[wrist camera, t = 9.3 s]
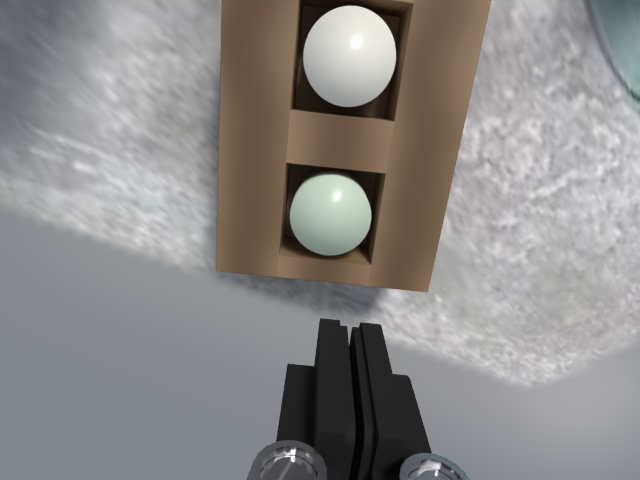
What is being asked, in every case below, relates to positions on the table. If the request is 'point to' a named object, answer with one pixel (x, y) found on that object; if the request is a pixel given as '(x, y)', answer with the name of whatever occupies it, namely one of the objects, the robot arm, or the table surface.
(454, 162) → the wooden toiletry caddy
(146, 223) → the table surface
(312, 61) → the ivory button
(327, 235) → the sage button
